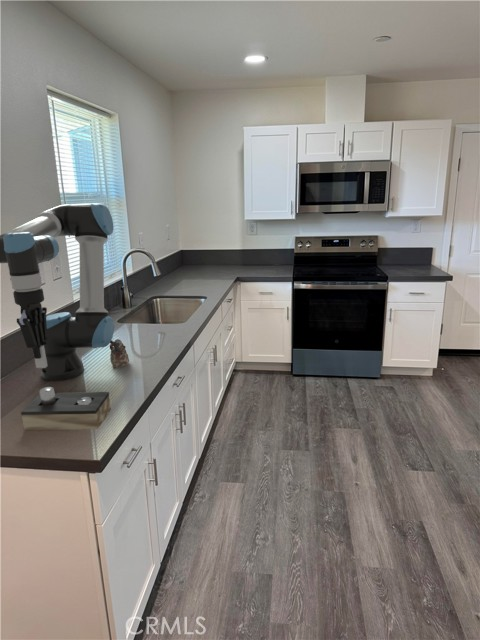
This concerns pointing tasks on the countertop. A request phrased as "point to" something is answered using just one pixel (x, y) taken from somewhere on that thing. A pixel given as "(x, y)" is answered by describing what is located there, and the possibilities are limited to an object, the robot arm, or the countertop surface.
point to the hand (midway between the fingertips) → (41, 366)
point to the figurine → (118, 354)
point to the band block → (67, 412)
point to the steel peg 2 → (84, 401)
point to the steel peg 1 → (47, 396)
